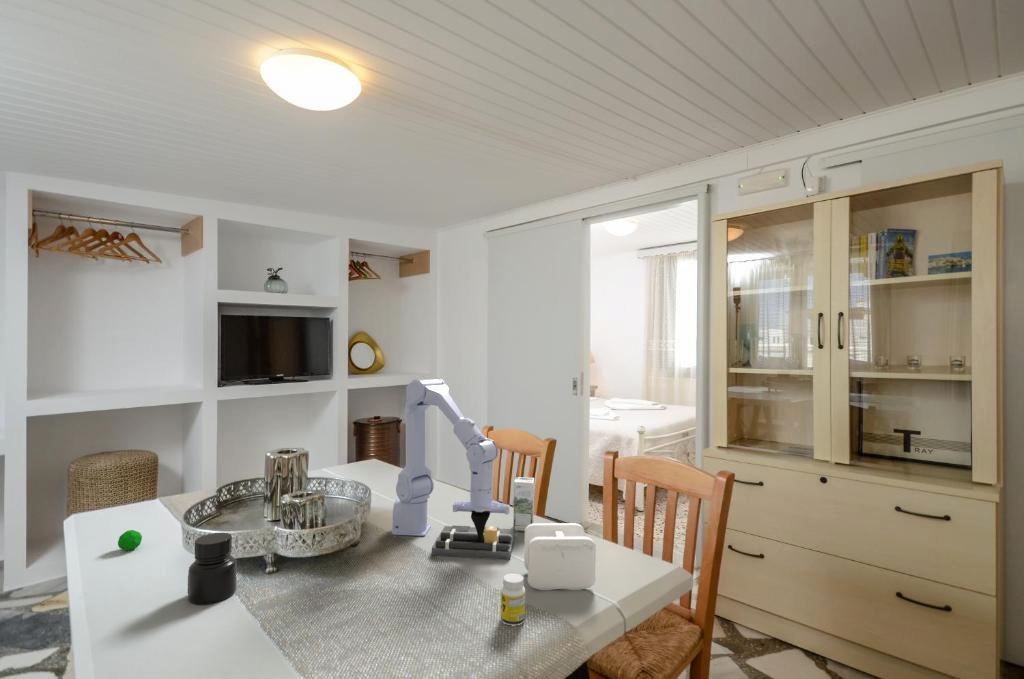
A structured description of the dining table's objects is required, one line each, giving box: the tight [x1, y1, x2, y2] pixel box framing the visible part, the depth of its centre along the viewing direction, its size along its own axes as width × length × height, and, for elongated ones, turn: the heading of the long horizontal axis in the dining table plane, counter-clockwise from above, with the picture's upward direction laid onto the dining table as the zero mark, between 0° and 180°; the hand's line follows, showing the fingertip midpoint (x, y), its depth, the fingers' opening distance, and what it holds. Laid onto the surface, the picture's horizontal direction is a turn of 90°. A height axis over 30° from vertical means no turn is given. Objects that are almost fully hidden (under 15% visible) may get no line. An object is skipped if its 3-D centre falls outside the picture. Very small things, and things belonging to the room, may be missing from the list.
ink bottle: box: [187, 532, 238, 605], centre depth 111 cm, size 10×9×12 cm
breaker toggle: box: [484, 525, 498, 543], centre depth 135 cm, size 3×3×4 cm
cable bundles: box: [435, 529, 512, 552], centre depth 136 cm, size 19×10×2 cm, turn 85°
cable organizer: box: [523, 522, 597, 591], centre depth 120 cm, size 15×11×12 cm
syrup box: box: [512, 476, 535, 533], centre depth 153 cm, size 6×6×14 cm
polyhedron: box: [117, 529, 143, 552], centre depth 134 cm, size 5×5×5 cm
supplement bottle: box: [500, 573, 526, 625], centre depth 102 cm, size 5×5×8 cm
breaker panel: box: [431, 525, 516, 561], centre depth 140 cm, size 20×16×3 cm
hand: (480, 540), depth 135 cm, fingers closed
